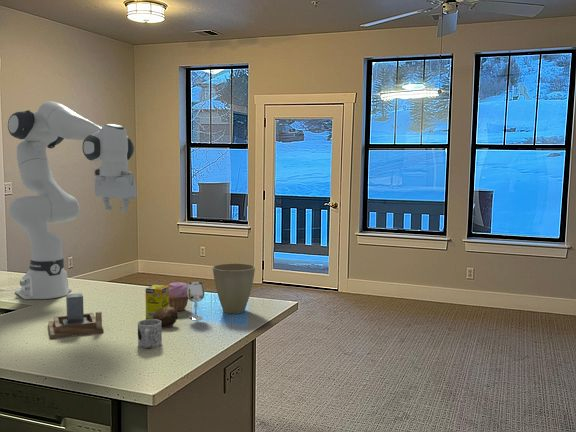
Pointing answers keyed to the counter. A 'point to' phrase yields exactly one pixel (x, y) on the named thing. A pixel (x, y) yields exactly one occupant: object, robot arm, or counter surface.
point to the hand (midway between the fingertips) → (116, 211)
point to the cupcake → (178, 295)
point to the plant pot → (233, 285)
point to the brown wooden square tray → (76, 326)
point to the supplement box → (156, 299)
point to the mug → (149, 333)
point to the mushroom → (166, 316)
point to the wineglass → (195, 296)
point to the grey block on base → (74, 309)
